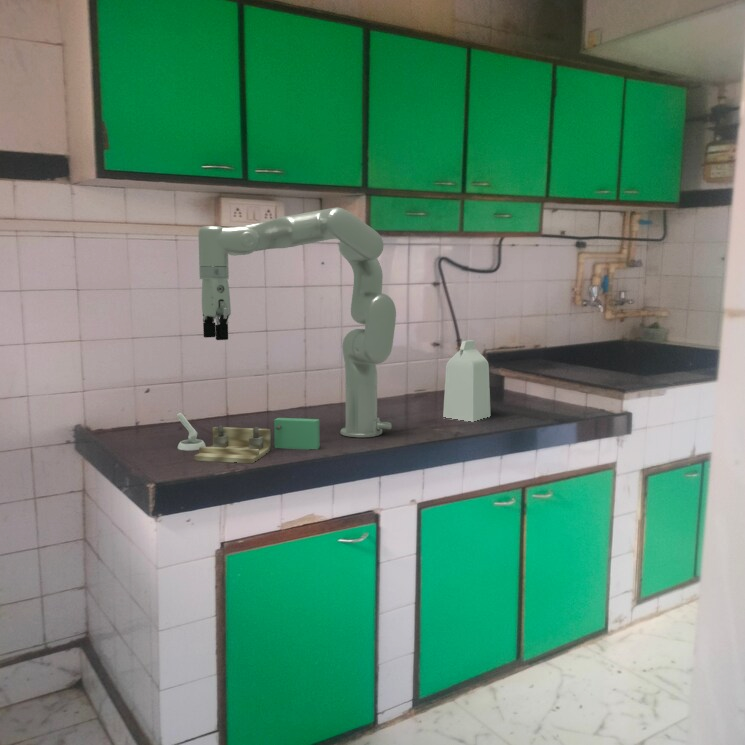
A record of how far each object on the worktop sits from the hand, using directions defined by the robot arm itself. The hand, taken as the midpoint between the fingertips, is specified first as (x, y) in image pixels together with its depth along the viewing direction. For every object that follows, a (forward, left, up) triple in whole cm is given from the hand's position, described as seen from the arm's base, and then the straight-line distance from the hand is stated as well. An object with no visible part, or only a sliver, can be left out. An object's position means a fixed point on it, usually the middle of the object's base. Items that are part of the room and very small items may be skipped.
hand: (215, 338), depth 193 cm
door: (-20, -8, -31) cm, 37 cm away
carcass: (-6, +4, -31) cm, 32 cm away
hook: (+9, -3, -31) cm, 32 cm away
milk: (-64, -61, -31) cm, 93 cm away
